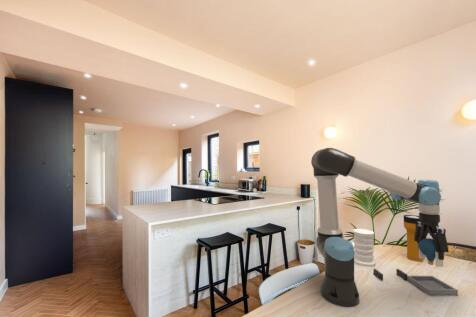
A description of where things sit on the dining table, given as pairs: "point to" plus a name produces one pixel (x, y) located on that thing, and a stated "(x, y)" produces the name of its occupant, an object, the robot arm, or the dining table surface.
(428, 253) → the light bulb
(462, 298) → the dining table surface
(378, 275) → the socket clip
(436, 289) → the parts tray
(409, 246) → the flashlight
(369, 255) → the decorative container
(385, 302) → the dining table surface
